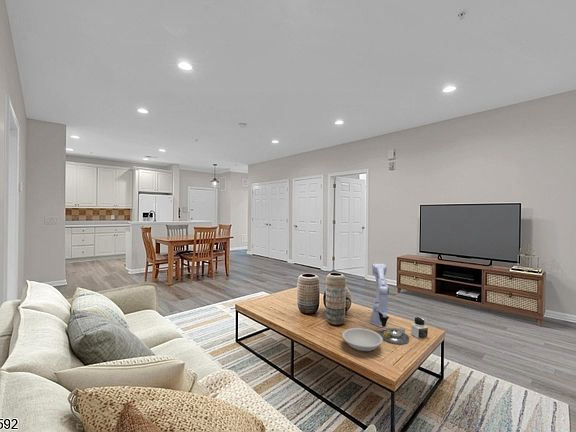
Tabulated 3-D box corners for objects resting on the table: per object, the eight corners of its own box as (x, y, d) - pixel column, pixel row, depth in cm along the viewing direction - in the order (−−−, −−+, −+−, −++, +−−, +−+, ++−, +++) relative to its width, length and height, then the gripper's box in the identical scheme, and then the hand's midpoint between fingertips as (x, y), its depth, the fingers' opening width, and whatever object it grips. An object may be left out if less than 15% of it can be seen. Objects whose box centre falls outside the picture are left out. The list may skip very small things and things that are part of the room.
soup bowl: (352, 334, 185) (352, 324, 185) (388, 346, 170) (388, 335, 170) (334, 348, 167) (334, 337, 166) (373, 363, 151) (373, 351, 151)
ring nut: (380, 335, 179) (380, 330, 179) (395, 329, 189) (395, 324, 189) (392, 341, 172) (392, 336, 172) (407, 334, 181) (407, 329, 181)
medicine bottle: (418, 339, 179) (419, 321, 178) (410, 334, 186) (411, 316, 185) (427, 338, 181) (428, 320, 180) (419, 333, 188) (420, 315, 187)
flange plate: (373, 335, 183) (374, 333, 183) (390, 329, 193) (390, 326, 193) (398, 347, 168) (398, 344, 168) (414, 339, 178) (414, 337, 178)
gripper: (375, 299, 193) (375, 318, 193) (378, 307, 178) (378, 327, 179) (386, 300, 191) (385, 319, 192) (390, 308, 177) (389, 328, 178)
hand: (382, 323), depth 185 cm, fingers open, 7 cm apart
